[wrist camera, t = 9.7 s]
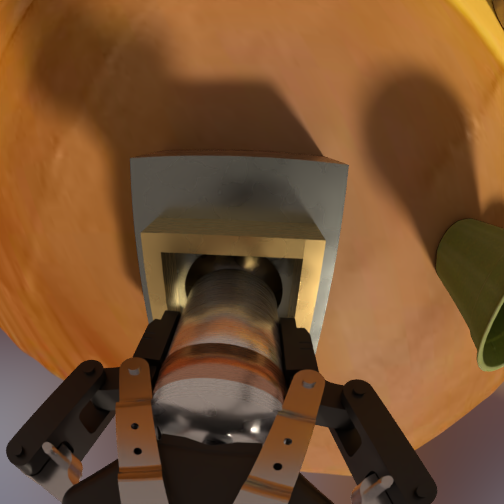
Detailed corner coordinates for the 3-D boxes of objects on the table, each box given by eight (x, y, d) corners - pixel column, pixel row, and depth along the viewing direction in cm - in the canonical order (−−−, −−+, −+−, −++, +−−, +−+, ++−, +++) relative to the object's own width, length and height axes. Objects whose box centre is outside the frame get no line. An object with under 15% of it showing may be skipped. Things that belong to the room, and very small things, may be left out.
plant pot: (397, 298, 24) (452, 380, 14) (437, 180, 20) (531, 222, 9) (470, 304, 25) (521, 365, 15) (506, 211, 20) (577, 252, 10)
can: (183, 265, 14) (118, 407, 6) (281, 269, 14) (305, 425, 6) (190, 339, 16) (156, 470, 8) (273, 343, 16) (281, 481, 8)
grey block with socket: (163, 150, 19) (108, 163, 12) (323, 156, 19) (365, 171, 12) (176, 328, 26) (152, 395, 18) (299, 335, 26) (311, 405, 18)
